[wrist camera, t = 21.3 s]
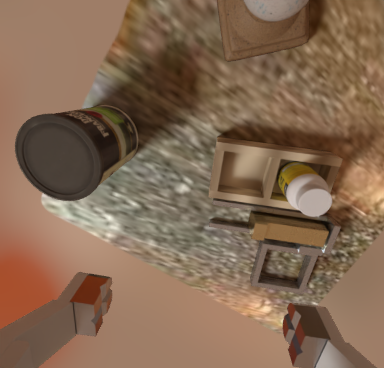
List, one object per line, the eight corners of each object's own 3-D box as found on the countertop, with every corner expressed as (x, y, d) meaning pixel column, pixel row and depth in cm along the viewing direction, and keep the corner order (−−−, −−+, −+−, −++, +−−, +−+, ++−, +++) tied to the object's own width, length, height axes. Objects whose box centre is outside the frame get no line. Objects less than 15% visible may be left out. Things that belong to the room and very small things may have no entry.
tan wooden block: (319, 219, 42) (331, 234, 38) (314, 233, 43) (325, 249, 39) (251, 209, 43) (255, 223, 38) (247, 223, 44) (251, 238, 40)
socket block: (330, 214, 42) (341, 226, 38) (302, 286, 48) (309, 302, 45) (213, 197, 43) (213, 207, 39) (201, 270, 49) (200, 285, 45)
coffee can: (87, 93, 38) (19, 97, 25) (147, 121, 39) (112, 138, 26) (73, 151, 42) (9, 180, 29) (128, 175, 43) (89, 214, 30)
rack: (330, 151, 38) (342, 158, 34) (312, 202, 41) (322, 213, 38) (217, 136, 39) (217, 141, 35) (209, 187, 42) (208, 197, 38)
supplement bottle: (270, 168, 39) (286, 193, 30) (303, 153, 37) (331, 175, 28) (282, 195, 40) (301, 227, 31) (315, 182, 39) (344, 211, 30)
